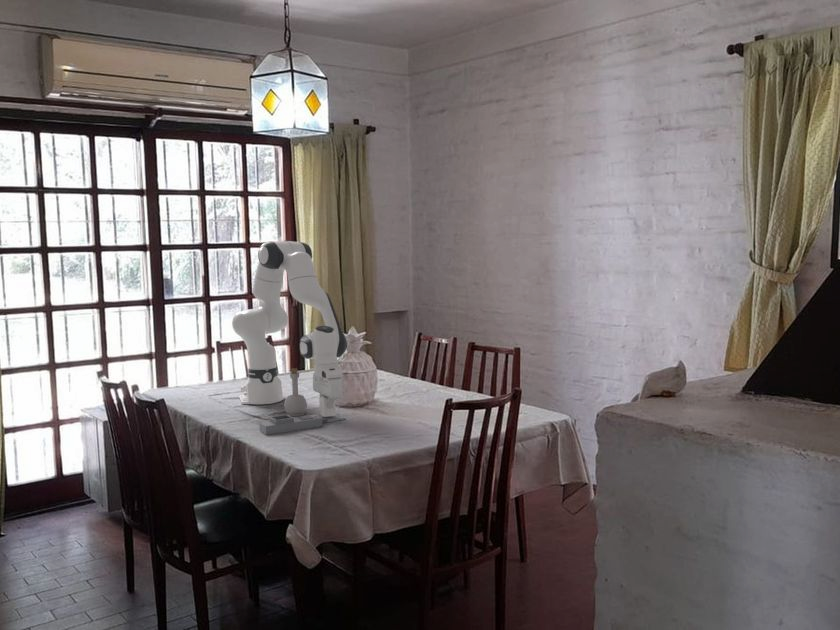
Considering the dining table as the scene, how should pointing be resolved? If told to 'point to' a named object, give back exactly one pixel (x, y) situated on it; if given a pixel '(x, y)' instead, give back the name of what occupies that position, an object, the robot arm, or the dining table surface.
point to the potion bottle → (295, 398)
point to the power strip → (290, 423)
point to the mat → (333, 418)
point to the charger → (326, 407)
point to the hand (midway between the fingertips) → (327, 406)
